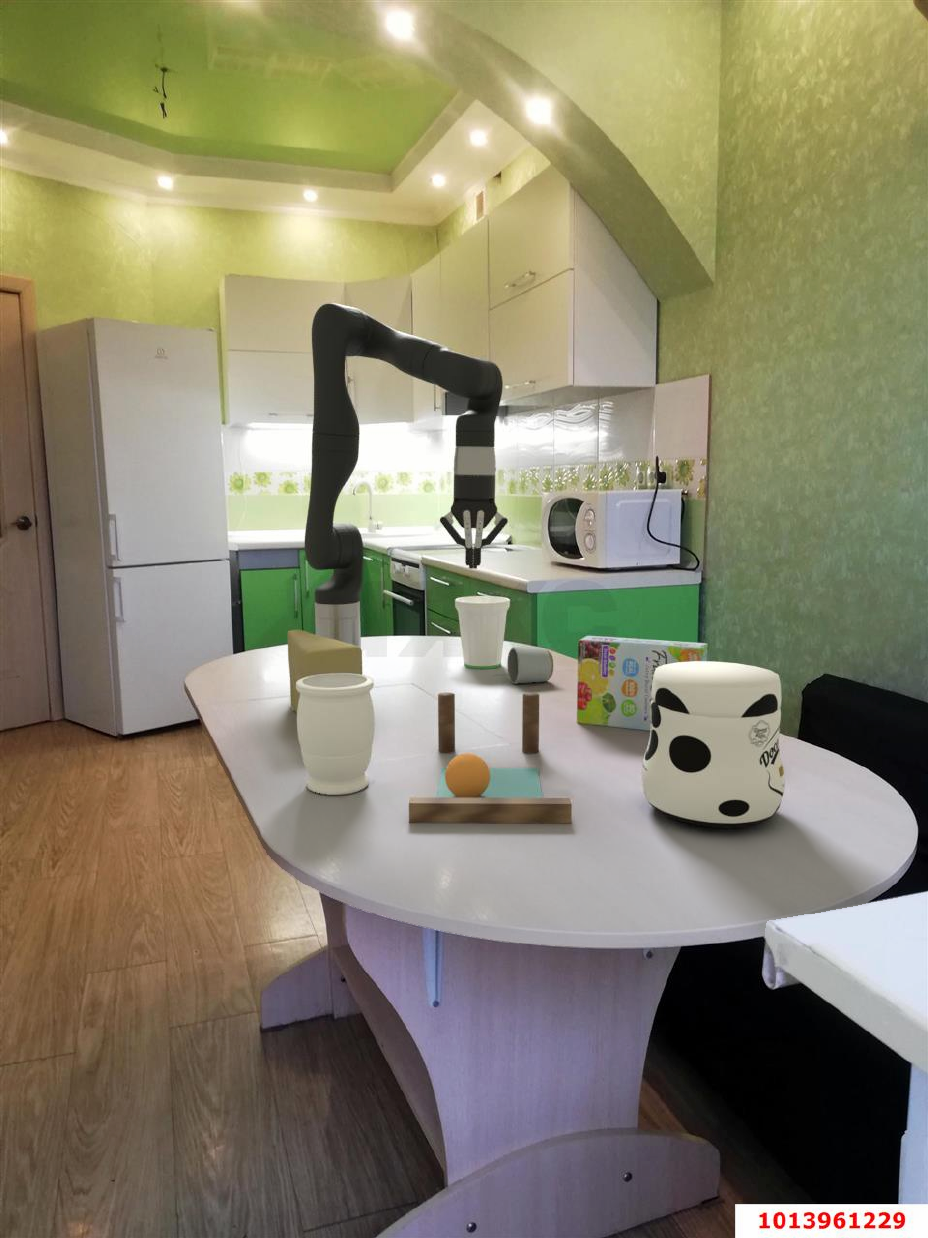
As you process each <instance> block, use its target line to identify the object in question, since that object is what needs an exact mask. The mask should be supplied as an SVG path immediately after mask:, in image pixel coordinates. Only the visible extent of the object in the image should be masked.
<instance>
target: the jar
mask: <svg viewBox="0 0 928 1238" xmlns="http://www.w3.org/2000/svg"><path fill="white" fill-rule="evenodd" d="M374 681H375V680H374V678H373V677H371V676H369V675H364V674H362V675H360V674H350V673H331V674H320V675H313V676H308V677H305V678H302V679H300V680H298V681H297V682H296V689H297V691H298V692H299V693H300V698H299V702H298V709H297V713H296V729H297V731H296V732H297V738H298V743H299V746H300V751H301V757H302V761H303V765H304V767H305V769H306V771H307V773H308V775H309V776H310V777H308V779H307V780H306V781H307V782H306V787H307V789H308V790H310V791H311V792H313V793H315V792H316V793H315V794H319V793H320V794H319V795H325V794H326V796H343V795H350V794H354V793H357V792H360V791H362V790H364V789H365V788H367V786H368V785H369V778H368V776H367V775H366V774H365V773H366V772H367V769H368V767H369V764H370V762H371V758H372V753H373V752H372V751H373V744H374V737H375V731H376V730H375V727H376V725H375V724H376V722H375V721H376V718H375V717H376V716H375V715H376V714H375V709H374V703H373V699H372V695H371V690H372V689H373V688H374V685H375V683H374Z"/></svg>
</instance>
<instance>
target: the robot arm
mask: <svg viewBox="0 0 928 1238" xmlns="http://www.w3.org/2000/svg"><path fill="white" fill-rule="evenodd" d="M311 350H312V364H313V365H312V367H313V368H312V369H313V419H312V420H313V421H312V437H311V475H310V476H311V477H310V490H309V492H310V493H309V502H308V509H307V517H306V524H305V533H304V554H305V558H306V561H307V563H308V565H309V566H310V568H312V569H313V570H315V571H316V570H317V571H327V570H333V572H332V575H331V576H330V578H329V579H328V580H327V581H326V582H324V583H323V584H321V585H319V586H318V587H316V588H315V590H314V613H315V617H314V618H315V619H314V620H315V635H318V636H321V637H325V638H329V639H334V640H338V641H341V642H344V643H348V644H351V645H355V646H358V647H360V648H361V649H362V643H361V641H362V639H361V638H362V637H361V634H362V633H361V601H360V599H361V598H360V596H361V592H362V589H363V578H364V577H363V575H364V574H363V573H364V570H363V569H364V543H363V538H362V534H361V531H360V530H359V529H358V527H357V526H355V525H354V524H351V523H348V522H347V523H346V522H345V523H343V522H342V523H334V517H335V511H336V510H335V509H336V505H337V503H338V499H339V496H340V494H341V493H342V491H343V489H344V487H345V486H346V483H348V481H349V479H350V477H351V475H352V474H353V472H354V471H355V468H356V466H357V463H358V460H359V449H360V423H359V418H358V415H357V412H356V409H355V406H354V404H353V402H352V399H351V397H350V394H349V391H348V386H347V381H346V360H347V359H346V358H347V357H363V358H370V359H376V360H379V361H383V362H384V363H385V362H386V363H388V364H390V365H391V366H393V367H395V368H396V369H398V370H399V371H400V372H402V373H404V374H405V375H408V376H411V377H414V378H415V379H417V380H421V381H423V382H426V383H429V384H433V385H435V386H438V387H440V388H441V389H443V390H445V391H447V392H449V393H450V394H453V395H456V396H457V397H461V398H465V399H468V400H467V404H466V408H465V409H466V410H465V413H462V414H460V415H458V417H457V418H456V421H455V449H454V458H453V501H452V505H451V507H450V511H449V512H448V513H446V514H445V515H443V516H441V517H440V518H439V522H440V523H441V525H442V526H443V528H444V529H445V530H446V532H447V533H448V535H449V536H451V538H452V540H453V541H454V542H455V543H456V545H459V546H462V547H464V548H465V549H464V550H465V554H464V555H465V557H464V559H465V561H464V563H465V565H466V566H468V569H469V570H470V569H473V570H474V569H478V566H481V562H482V548H483V547H486V546H489V545H491V544H492V542H494V540H495V539H496V538H497V536H498V535H499V534H500V533H501V532H502V530H503V529H504V528H505V527H506V525H507V524H508V522H509V521H508V518H507V517H505V516H504V515H502V514H501V513H500V512H499V511H498V507H497V504H496V471H497V466H496V464H497V463H496V454H495V441H496V440H495V436H496V434H495V433H496V432H495V430H496V429H495V427H496V426H495V425H496V419H497V416H498V413H499V408H500V404H501V399H502V395H503V387H504V385H503V383H504V382H503V376H502V372H501V370H500V368H499V366H498V365H497V364H496V363H495V362H493V360H489V359H485V358H479V357H474V356H470V355H468V354H464V353H460V352H456V351H453V350H452V349H451V348H449V347H447V346H445V345H443V344H439V343H436V342H434V341H431V340H429V339H425V338H422V337H420V336H416V335H412V334H408V333H405V332H402V331H399V330H397V329H394V328H392V327H390V326H388V325H386V324H385V323H383V322H382V321H380V320H378V319H376V318H374V317H372V316H371V315H370V314H368V313H366V312H364V311H363V310H362V309H359V308H358V307H353V306H349V305H343V304H340V303H334V302H327V303H323V304H322V305H321V306H319V308H318V309H317V310H316V311H315V314H314V316H313V320H312V326H311ZM453 517H454V518H453ZM494 517H495V518H494ZM454 519H455V520H454ZM493 519H494V522H493V524H494V525H495V526H494V527H493V529H491V531H490V532H489V533H488V535H487V536H486V537H485V538H483V532H484V529H485V528H486V527H488V525H490V523H491V522H492V520H493ZM454 521H457V523H458V524H459V526H460V527H461V528H462V529H464V538H463V537H462V536H461V535H460V533H459V532H458V531H457V529H456V528H455V527H454V525H453V524H454ZM473 529H475V535H474V537H475V539H474V547H473V534H472V533H473Z"/></svg>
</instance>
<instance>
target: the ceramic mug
mask: <svg viewBox="0 0 928 1238" xmlns="http://www.w3.org/2000/svg"><path fill="white" fill-rule="evenodd" d="M506 661H507V665H506V667H507V675H508V678H509V681H510V682H511V683H512V684H513V683H514V684H513V685H519V684H518V683H521V684H532V682H536V683H543V682H547V681H549V680H550V679H551V678H552V676H553V672H554V658H553V655H552V653H551V651H550V650H549V649H547V648H543V647H524V646H523V647H521V646H513V647H511V648H510V650H509V652H508V655H507V660H506Z"/></svg>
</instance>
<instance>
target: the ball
mask: <svg viewBox="0 0 928 1238" xmlns="http://www.w3.org/2000/svg"><path fill="white" fill-rule="evenodd" d="M445 768H446V772H445V781H446V785H447V787H448V789H449V790H450V791H451V793H453V794H454V795H455V796H457V797H459V798H477V797H479V796H480V795H482V794H483V793H484V792H485V790H486V789H487V787H488V785H489V782H490V771H489V766H488V763H486V761H485V760H484V759H483V758H482V757H481V756H479V755H477V754H475V753H469V752H467V753H462V754H459V755H456V756H454V757H453V759H451V760H450V761H449V763H448V764H447V766H446V767H445Z"/></svg>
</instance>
